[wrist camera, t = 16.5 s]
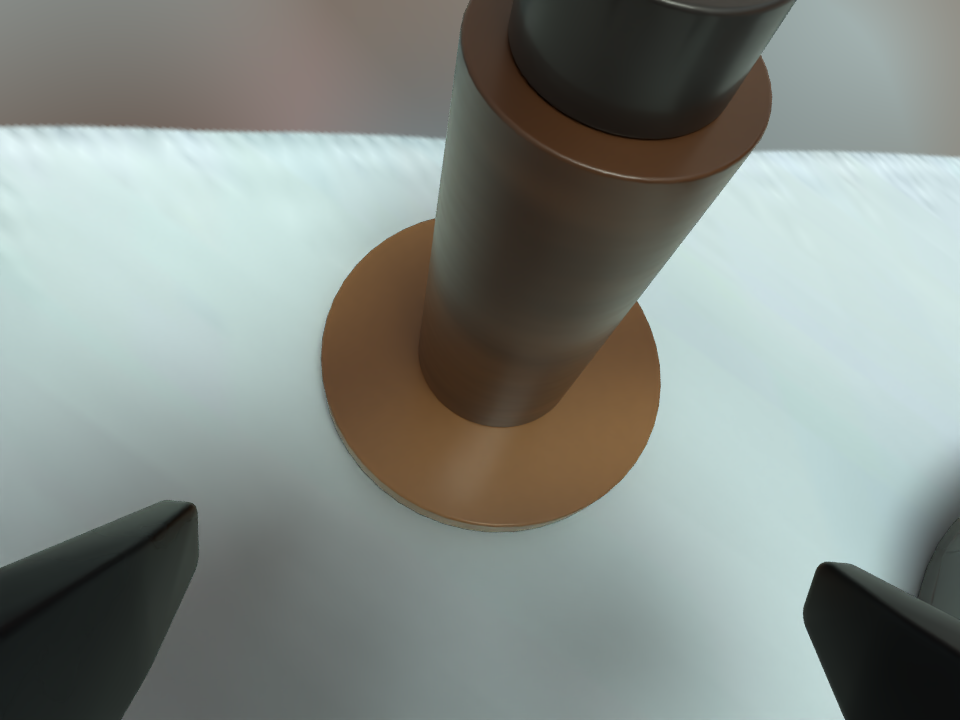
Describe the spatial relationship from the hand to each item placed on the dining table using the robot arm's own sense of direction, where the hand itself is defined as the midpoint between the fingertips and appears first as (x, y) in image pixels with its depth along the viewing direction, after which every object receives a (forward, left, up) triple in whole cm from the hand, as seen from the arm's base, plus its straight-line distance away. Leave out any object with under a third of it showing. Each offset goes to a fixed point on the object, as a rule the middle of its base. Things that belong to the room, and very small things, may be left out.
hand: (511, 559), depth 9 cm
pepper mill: (+6, -4, -8) cm, 11 cm away
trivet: (+6, -4, -9) cm, 12 cm away
